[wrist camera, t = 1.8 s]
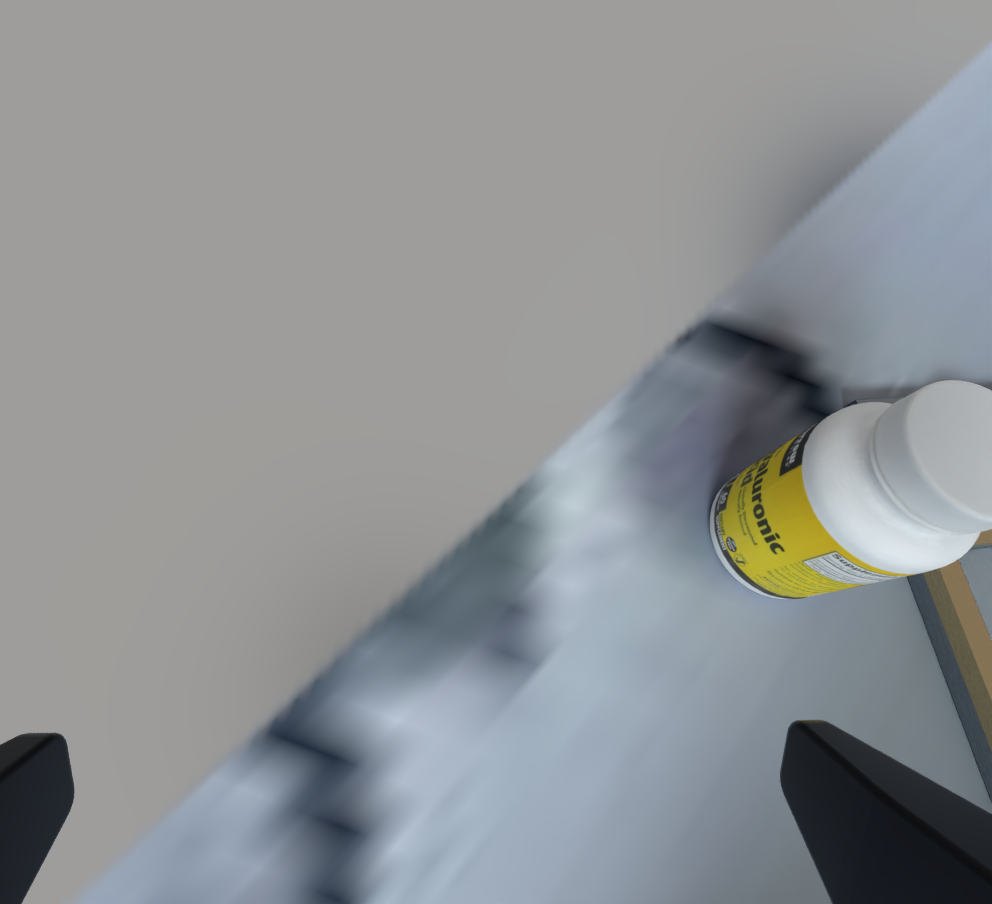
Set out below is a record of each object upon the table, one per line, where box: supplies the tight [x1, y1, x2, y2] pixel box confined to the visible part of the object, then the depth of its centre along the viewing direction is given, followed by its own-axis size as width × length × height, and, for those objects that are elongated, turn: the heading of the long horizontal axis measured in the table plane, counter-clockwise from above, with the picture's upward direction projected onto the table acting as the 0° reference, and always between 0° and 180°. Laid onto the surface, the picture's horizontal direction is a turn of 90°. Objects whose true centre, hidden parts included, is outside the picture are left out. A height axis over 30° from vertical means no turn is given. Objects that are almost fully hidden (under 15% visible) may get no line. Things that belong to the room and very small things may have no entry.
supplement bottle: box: [710, 380, 992, 599], centre depth 19 cm, size 5×5×10 cm
